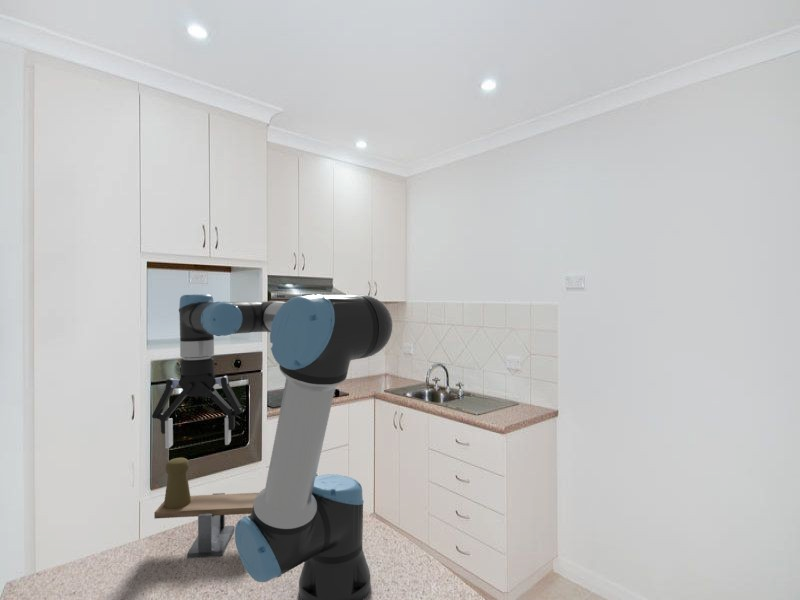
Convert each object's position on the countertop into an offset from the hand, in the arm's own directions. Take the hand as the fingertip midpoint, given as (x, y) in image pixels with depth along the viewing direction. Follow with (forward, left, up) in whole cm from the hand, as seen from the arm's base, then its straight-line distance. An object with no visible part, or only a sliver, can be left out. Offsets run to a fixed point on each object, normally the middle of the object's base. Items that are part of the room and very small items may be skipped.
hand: (198, 445), depth 108 cm
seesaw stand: (+2, -2, -26) cm, 26 cm away
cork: (+2, +6, -15) cm, 17 cm away
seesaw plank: (+2, -2, -17) cm, 17 cm away
